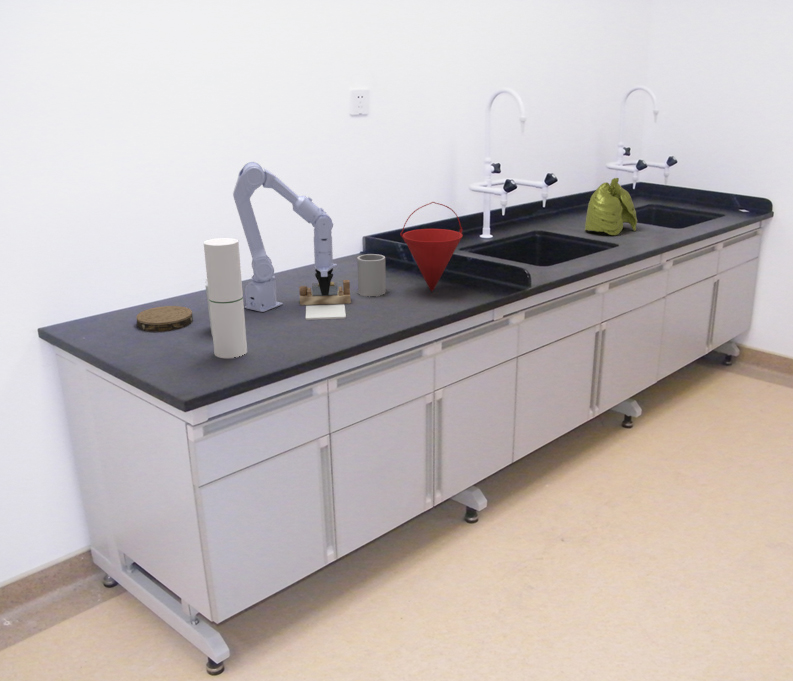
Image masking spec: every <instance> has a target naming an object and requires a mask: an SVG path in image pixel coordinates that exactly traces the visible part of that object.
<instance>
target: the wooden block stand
mask: <svg viewBox="0 0 793 681" xmlns="http://www.w3.org/2000/svg"><path fill="white" fill-rule="evenodd" d="M350 284H351V282H350V279H343V280H342V286H338V295H332V296H312V287H308V286H307V285H302V286H301V285H300V286H299V289H298V290H299V291H298V292H299V306H317V305H345V304H351V303H352V301H351V288H350V287H351V285H350Z"/></svg>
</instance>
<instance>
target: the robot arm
mask: <svg viewBox="0 0 793 681" xmlns="http://www.w3.org/2000/svg"><path fill="white" fill-rule="evenodd" d="M261 186H262V187H263V188H265V189H273V191H275V192H276V193H278V195H280V196H281V197H283V198H284V199H285V200H286V201H288V202H289V203H290V204H292V211H293V212H294V213H296V214H297V215H298V216H300V217H301V218H302V219H303V220H304V221H305V222H306V223H308V224H311V225H312V227H313V253H314V254H313V255H314V264H313V265H314V268H315V270H314V271H315V274H314V277H315V278H316V280H317V282H319V286H320V290H321V294H322V295H328V294H329V288H330V282H332V279H333V277H334V273H333V271H334V268H337V267H338V266H337V263H334V261H333V260H334V257H333V255H334V254H333V252H334V251H333V236H332V230H333V227H334V223H333V220H332V218H331V217H330V216H329V214H328V213H327V212H326V211H325V210H324V208H323V207H319V206H318V205H317V204H315V203H314V202H313V199H312V198H311V197H310V196H308V197H307V196H306V195H298V194H297V193H296V192H295V191H293V189H291V188H290V187H289V186H288V185H287V184H286V183H285V182H283V181H282V179H280V178H279V177H277V176H276V175H275V174H274V173H273V172H271V171H270V170H268V169H267V168H265V167H262V166H261V164H259V163H257V162H255V161H250V162H246V164H244V165H243V167H242V168H241V169H240V170H239V171H238V176H237V180H236V182H235V185H234V190H233V192H232V196H233V200H234V203H235V206H236V209H237V213H238V216H239V219H240V223H241V226H242V228H243V233H244V236H245V239H246V242H247V245H248V248H249V251H250V255H251V258H252V259H251V268H252V271H253V272H252V273H253V275H252V276H251V281H250V282H249V283H247V284H246V285H245V287H244V293H245V294H244V295H245V306H244V309H247V310H252V311H257V312H261V313H262V312H266V311H270V310H271V309H274V308H275V309H276V308H277V307H280V306H282V305H284V304H283V302H280V301H277V300H278V299H277V286H276V276H275V275H274V274H275V267H274V265H273V263H272V259H271V258H270V257H269V255H267V253H266V249H265V246H264V242H263V239H262V236H261V232H260V230H259V229H260V228H259V226H258V222H257V220H256V216H255V212H254V208H253V206H252V201H251V197H252V196H253V195H254V193H255V191H256V190H257V189H259V188H260V187H261Z"/></svg>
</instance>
